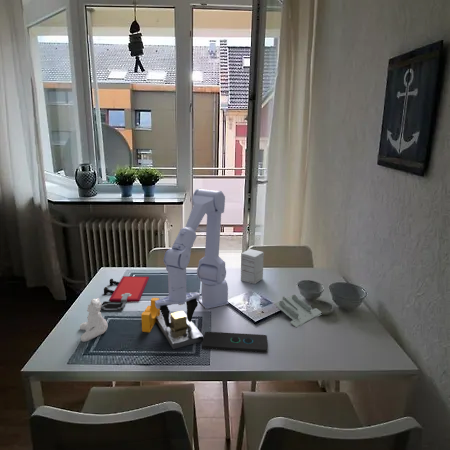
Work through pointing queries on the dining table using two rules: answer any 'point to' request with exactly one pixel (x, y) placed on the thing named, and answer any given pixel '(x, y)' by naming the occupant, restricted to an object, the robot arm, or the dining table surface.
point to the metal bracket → (297, 310)
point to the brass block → (178, 321)
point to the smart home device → (235, 342)
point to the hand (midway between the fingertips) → (178, 322)
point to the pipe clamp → (150, 316)
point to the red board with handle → (124, 292)
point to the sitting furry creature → (93, 322)
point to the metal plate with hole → (180, 333)
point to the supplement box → (252, 266)
